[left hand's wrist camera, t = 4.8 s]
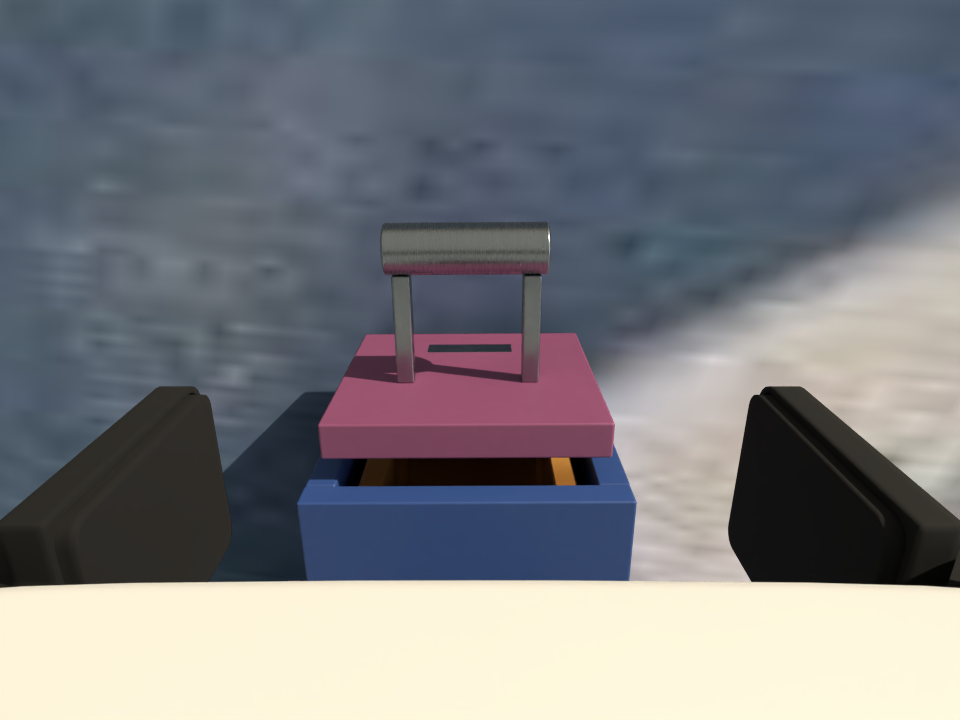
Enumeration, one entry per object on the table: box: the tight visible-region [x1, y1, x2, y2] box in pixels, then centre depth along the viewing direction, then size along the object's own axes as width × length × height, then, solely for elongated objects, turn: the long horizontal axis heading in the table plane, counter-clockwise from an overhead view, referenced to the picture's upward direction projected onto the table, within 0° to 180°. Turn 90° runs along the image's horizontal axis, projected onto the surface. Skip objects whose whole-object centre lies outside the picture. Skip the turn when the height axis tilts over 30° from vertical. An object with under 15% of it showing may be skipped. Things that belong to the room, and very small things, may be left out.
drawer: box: [318, 222, 615, 486], centre depth 25 cm, size 23×9×8 cm, turn 0°
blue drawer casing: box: [297, 444, 637, 581], centre depth 27 cm, size 19×10×10 cm, turn 0°
